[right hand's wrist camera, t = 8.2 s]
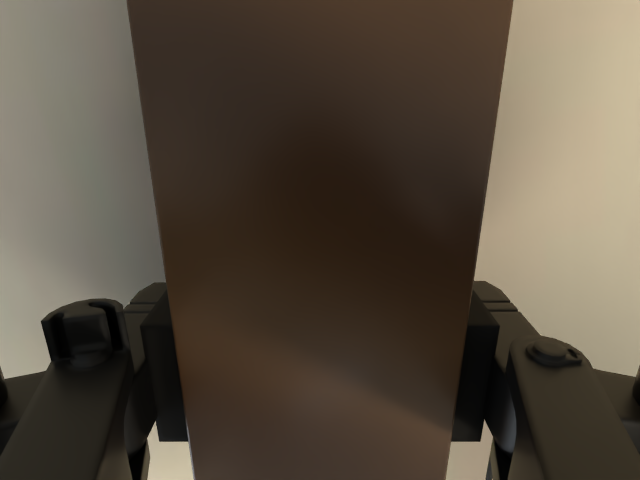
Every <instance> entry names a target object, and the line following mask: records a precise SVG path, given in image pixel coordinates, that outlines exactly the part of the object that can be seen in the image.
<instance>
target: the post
mask: <svg viewBox="0 0 640 480" xmlns="http://www.w3.org/2000/svg"><path fill="white" fill-rule="evenodd" d="M127 7H128V14H129V22H130V29H131V36H132V43H133V50H134V57H135V64H136V71H137V78H138V86H139V93H140V100H141V107H142V114H143V121H144V128H145V135H146V142H147V150H148V157H149V164H150V171H151V178H152V185H153V192H154V199H155V206H156V214H157V221H158V228H159V235H160V242H161V249H162V256H163V263H164V270H165V278H166V285H167V292H168V299H169V306H170V313H171V320H172V327H173V334H174V342H175V349H176V356H177V363H178V370H179V377H180V384H181V391H182V398H183V406H184V413H185V420H186V427H187V434H188V441H189V448H190V455H191V462H192V470H193V477H194V480H445V479H446V472H447V465H448V458H449V451H450V444H451V437H452V430H453V423H454V416H455V409H456V402H457V395H458V387H459V380H460V373H461V366H462V359H463V352H464V345H465V338H466V331H467V324H468V317H469V310H470V303H471V296H472V289H473V282H474V275H475V268H476V261H477V253H478V246H479V239H480V232H481V225H482V218H483V211H484V204H485V197H486V190H487V183H488V176H489V169H490V162H491V155H492V148H493V141H494V134H495V127H496V119H497V112H498V105H499V98H500V91H501V84H502V77H503V70H504V63H505V56H506V49H507V42H508V35H509V28H510V21H511V14H512V7H513V0H127Z"/></svg>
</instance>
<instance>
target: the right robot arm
mask: <svg viewBox="0 0 640 480" xmlns="http://www.w3.org/2000/svg"><path fill="white" fill-rule="evenodd" d="M41 324H42V328H43V331H44V335H45V339H46V343H47V347H48V350H49V354H50V358H51V363H50V365H49V367H48V368H47V370H46V371H43V372H39V373H34V374H29V375H24V376H18V377H13V378H8V379H4V377H3V374H2V370H1V367H0V480H147V477H148V469H149V462H150V453H149V446H148V441H147V437H148V435H149V433H150V431H151V429H152V427H153V425H154V423H155V421H156V425H157V431H158V436H159V442H189V441H188V434H187V427H186V420H185V413H184V406H183V398H182V391H181V384H180V377H179V370H178V363H177V356H176V349H175V342H174V334H173V327H172V320H171V313H170V306H169V299H168V292H167V285H166V283H153V284H151V285H150V286H148V287H146V288H144V289H143V290H141V291H139V292H138V293H137V295H136V296H135V297H134V298H133V299H132V300H131V302H130V304H128V305H127V306H126V307H125V308H124V310H123V305H122V304H120V303H119V302H118V301H116V300H111V299H88V300H83V301H78V302H74V303H71V304H68V305H65V306H62V307H60V308H58V309H56V310H55V311H53V312H51V313H49V314H48V315H47V316H46V317H45V318H44V319H43V320H42V321H41ZM484 419H485V421H486V423H487V425H488V427H489V429H490V431H491V433H492V435H493V441H492V446H491V452H490V457H489V463H488V468H487V473H486V480H492V478H493V480H640V366H639V369H638V372H637V376H636V377H632V376H627V375H621V374H616V373H611V372H606V371H600V370H596V369H593V368H592V366H591V364H590V362H589V360H588V359H587V358H586V357H585V356H584V355H583V354H582V352H580V351H579V350H577V349H576V348H574V347H572V346H571V345H569V344H567V343H564V342H562V341H559V340H557V339H554V338H549V337H545V336H540V334H539V333H538V332H537V331H536V330H535V329H534V328H533V326H532V325H531V324H530V323H529V322H528V321H527V320H526V318H525V317H524V316H523V315H522V314H521V313H520V312H518V309H517V308H516V307H515V306H514V305H513V303H510V300H509V299H508V298H507V297H506V295H505V294H504V293H503V292H502V291H501V290H500V289H498V288H496V287H495V286H493V285H491V284H489V283H488V282H486V281H474V282H473V289H472V296H471V303H470V310H469V317H468V324H467V331H466V338H465V345H464V352H463V359H462V366H461V373H460V380H459V387H458V395H457V402H456V409H455V416H454V423H453V430H452V437H451V442H480V441H481V435H482V429H483V423H484Z"/></svg>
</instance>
